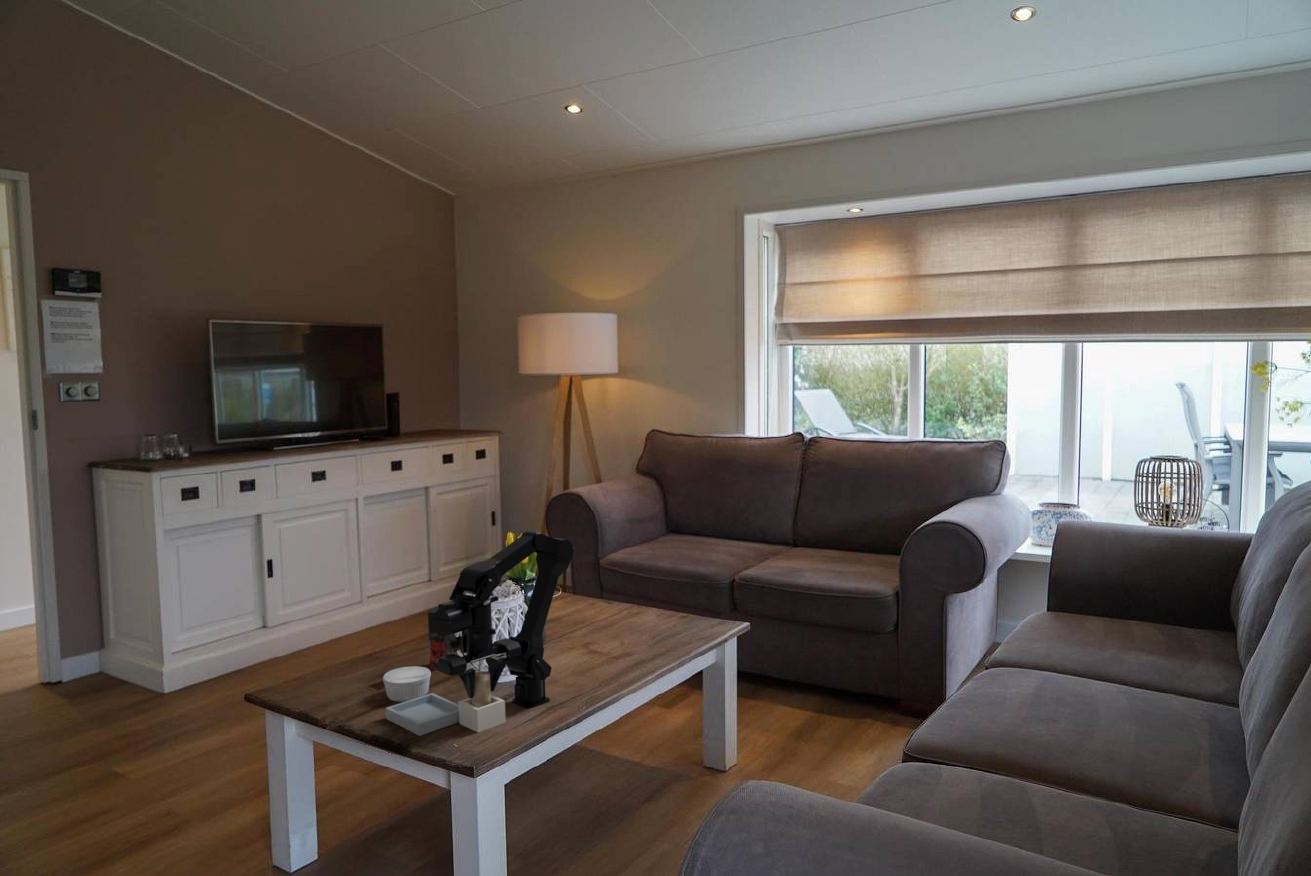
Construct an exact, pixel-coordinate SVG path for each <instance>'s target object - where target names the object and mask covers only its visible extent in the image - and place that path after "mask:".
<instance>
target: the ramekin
mask: <svg viewBox="0 0 1311 876" xmlns="http://www.w3.org/2000/svg"><path fill="white" fill-rule="evenodd" d="M431 676H432V673H431V670H430V669H429V668H428V667H424V666H416V665H415V666H403V667H398V668H394V669H391V670H388V671H387V672H386V673H384V675H383V677H382V681H383V684H384V690H385V694H386V695H387V698H388V699H389V700H390V701H393V702H399V703H403V702H406V701H409V700H412V699H415V698H419V697H422V696H425V695H428V692H429V689H430V681H431V680H430V678H431Z"/></svg>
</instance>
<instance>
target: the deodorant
mask: <svg viewBox="0 0 1311 876" xmlns="http://www.w3.org/2000/svg"><path fill="white" fill-rule="evenodd" d="M437 610H439V606H435V607H432V608H429V609H428V610H427V625H428V629H427V631H428V647H429V649H428V650H429V668H430V669H431V670H437V666H436V663H437V660H438V659H439V657H443V656H446V655H450V654H454V653H453V650H452V649H449V650H446V649H445V645H444V637H441V636H439V635H438V634H437V633H436V631H435V629H434V627H433V618H434V614H435V612H436V611H437Z"/></svg>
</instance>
